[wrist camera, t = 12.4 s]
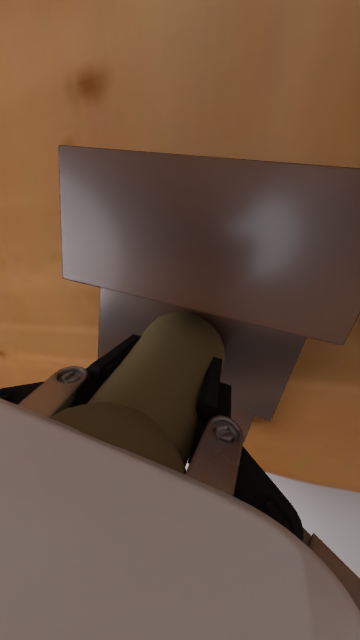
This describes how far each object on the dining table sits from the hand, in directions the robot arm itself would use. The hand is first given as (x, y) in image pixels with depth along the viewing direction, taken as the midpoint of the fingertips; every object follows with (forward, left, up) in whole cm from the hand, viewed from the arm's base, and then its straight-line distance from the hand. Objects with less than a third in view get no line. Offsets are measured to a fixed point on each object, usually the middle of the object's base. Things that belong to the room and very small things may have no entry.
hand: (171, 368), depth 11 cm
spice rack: (0, 0, -10) cm, 10 cm away
